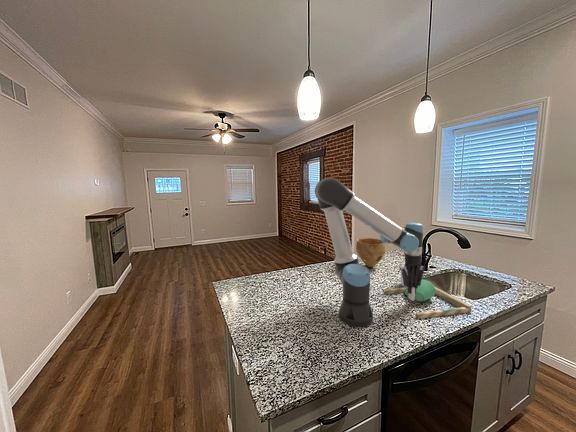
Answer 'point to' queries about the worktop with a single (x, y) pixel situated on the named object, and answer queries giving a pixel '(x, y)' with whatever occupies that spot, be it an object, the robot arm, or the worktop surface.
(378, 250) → the bowl
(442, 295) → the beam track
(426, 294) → the mug
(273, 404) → the worktop surface
